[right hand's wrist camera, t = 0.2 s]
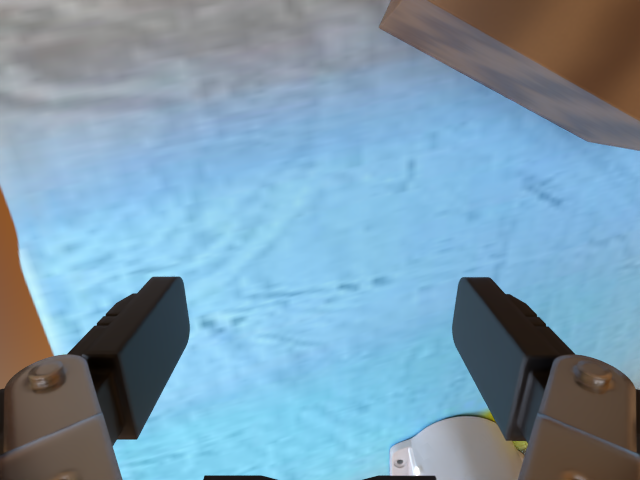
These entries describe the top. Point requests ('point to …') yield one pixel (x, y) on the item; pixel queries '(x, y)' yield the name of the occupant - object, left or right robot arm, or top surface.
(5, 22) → the top surface
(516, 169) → the top surface
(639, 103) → the box
